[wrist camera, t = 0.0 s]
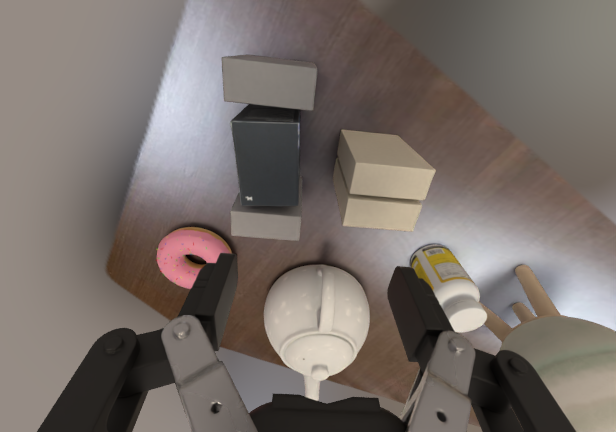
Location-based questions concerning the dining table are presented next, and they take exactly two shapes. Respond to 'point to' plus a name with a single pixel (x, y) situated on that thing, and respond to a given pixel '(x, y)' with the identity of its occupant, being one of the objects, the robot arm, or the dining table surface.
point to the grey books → (277, 93)
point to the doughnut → (188, 242)
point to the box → (267, 155)
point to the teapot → (316, 321)
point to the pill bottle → (450, 286)
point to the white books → (379, 181)
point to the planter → (564, 356)
